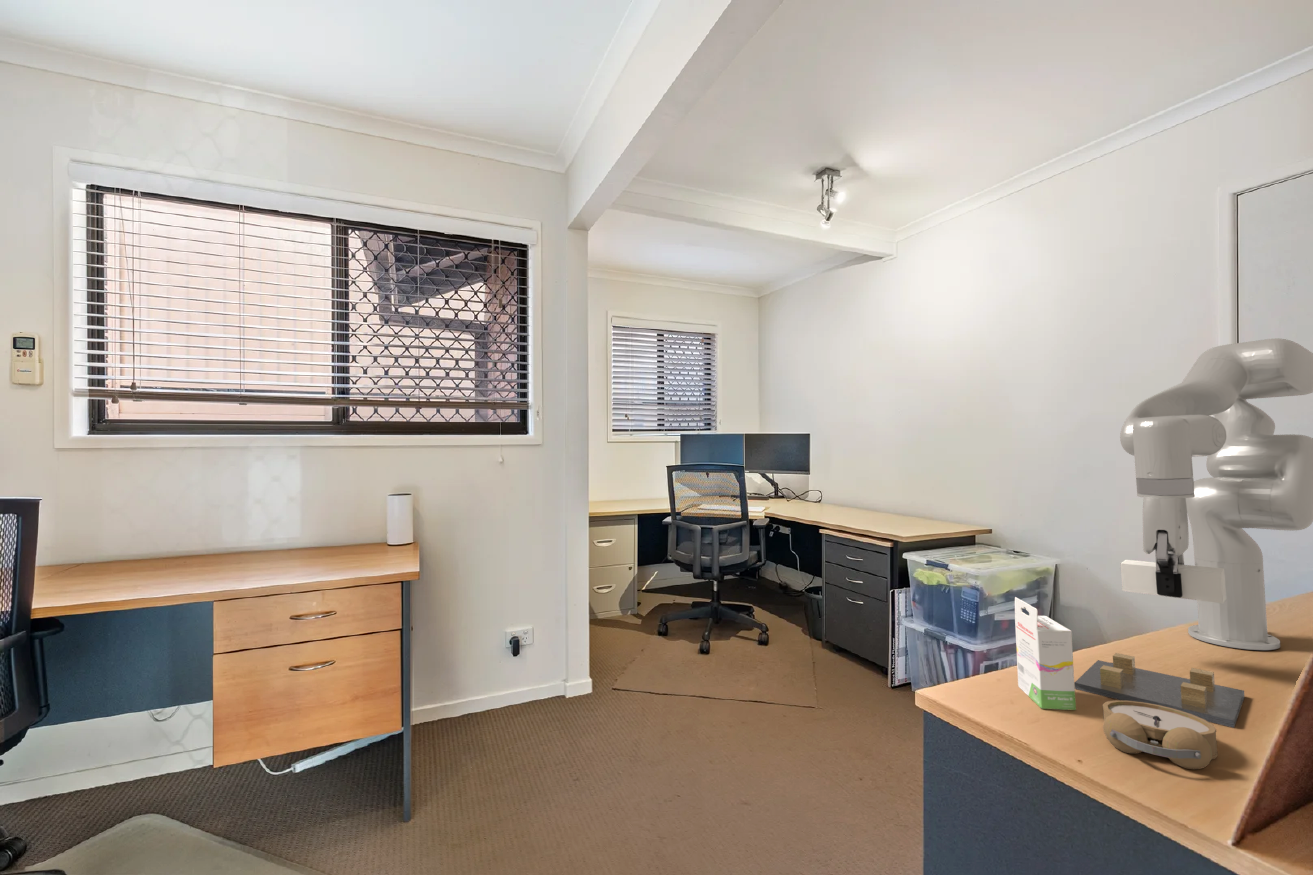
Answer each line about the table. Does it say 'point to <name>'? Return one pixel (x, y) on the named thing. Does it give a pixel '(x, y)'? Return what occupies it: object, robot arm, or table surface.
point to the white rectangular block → (1193, 578)
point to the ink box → (1044, 659)
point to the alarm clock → (1160, 732)
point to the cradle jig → (1164, 689)
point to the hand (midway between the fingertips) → (1172, 591)
